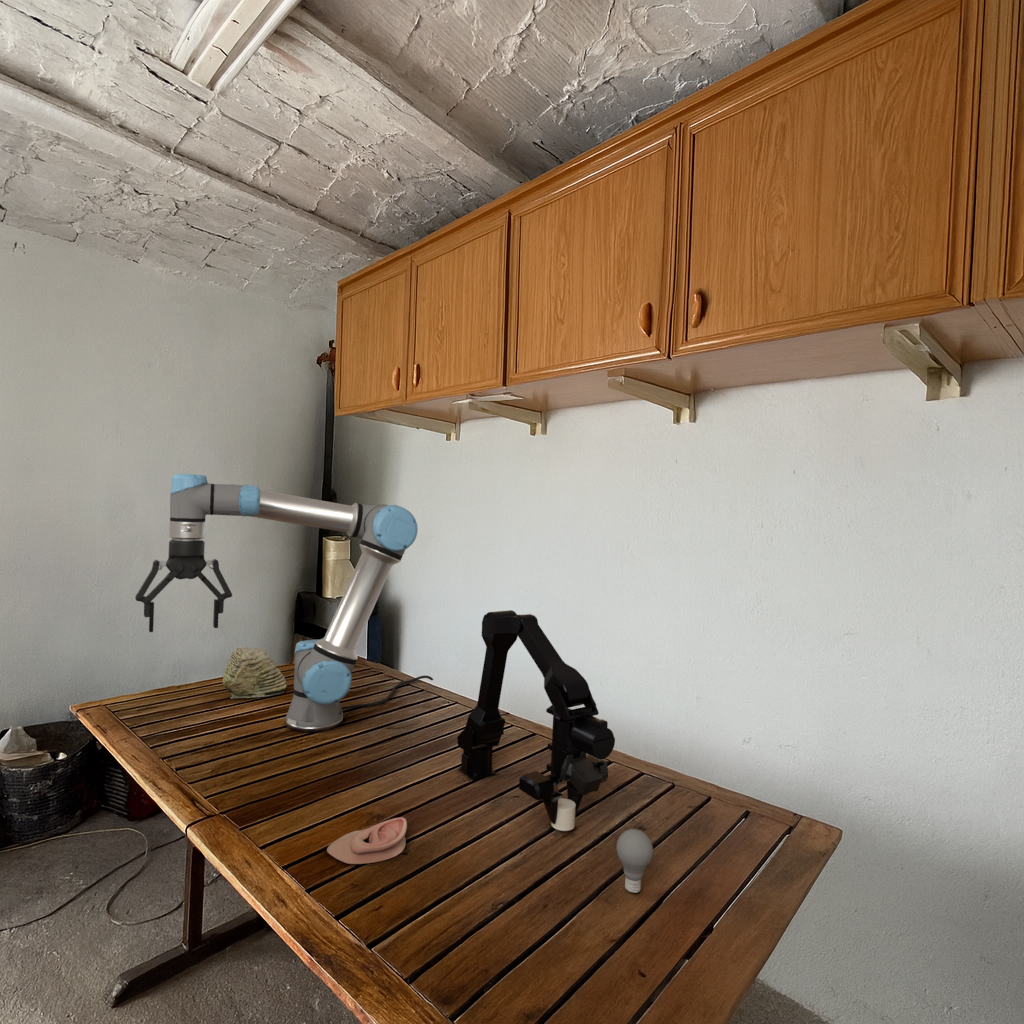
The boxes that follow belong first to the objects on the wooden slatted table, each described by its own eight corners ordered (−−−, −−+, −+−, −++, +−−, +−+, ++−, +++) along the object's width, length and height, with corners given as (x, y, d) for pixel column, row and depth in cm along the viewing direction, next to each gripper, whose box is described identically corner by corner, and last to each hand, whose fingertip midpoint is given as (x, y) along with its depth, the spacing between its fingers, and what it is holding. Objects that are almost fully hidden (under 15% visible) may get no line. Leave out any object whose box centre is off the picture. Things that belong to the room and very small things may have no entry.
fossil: (218, 695, 195) (220, 647, 195) (278, 685, 208) (279, 640, 207) (228, 703, 189) (230, 653, 188) (289, 692, 201) (290, 645, 201)
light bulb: (610, 879, 108) (613, 822, 108) (644, 879, 109) (647, 822, 109) (619, 902, 102) (622, 840, 102) (655, 901, 103) (658, 840, 103)
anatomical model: (319, 836, 111) (348, 806, 122) (318, 859, 111) (348, 826, 122) (390, 848, 108) (414, 816, 119) (389, 871, 108) (413, 836, 119)
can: (575, 820, 126) (576, 799, 126) (573, 832, 122) (574, 810, 122) (552, 817, 127) (553, 796, 127) (549, 829, 123) (550, 807, 122)
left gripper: (125, 540, 140) (122, 636, 140) (246, 540, 153) (243, 628, 153) (125, 538, 146) (122, 629, 146) (241, 538, 159) (238, 622, 160)
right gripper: (557, 766, 112) (552, 853, 112) (630, 745, 123) (626, 825, 123) (519, 744, 121) (515, 825, 121) (590, 727, 132) (586, 801, 132)
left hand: (184, 629), depth 150 cm, fingers open, 13 cm apart
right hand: (562, 819), depth 124 cm, fingers closed on can, 5 cm apart
